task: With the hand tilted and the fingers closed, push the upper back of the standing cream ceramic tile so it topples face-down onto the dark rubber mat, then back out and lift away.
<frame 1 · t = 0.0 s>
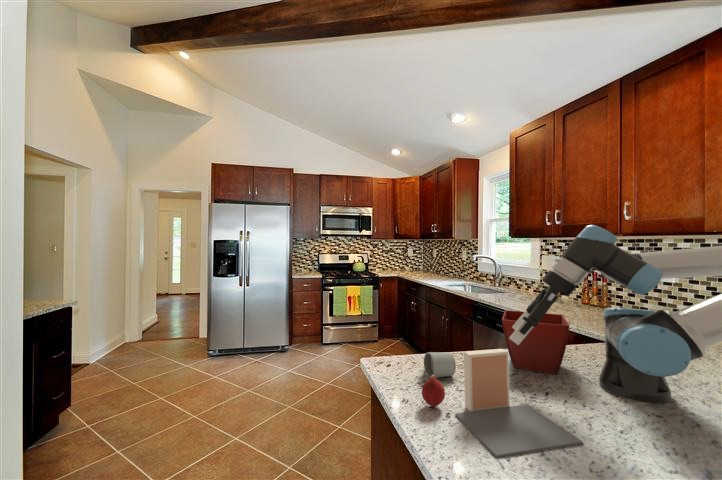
hand: (514, 335, 90), 15 cm above the countertop, tool tilted 35°, fingers open, 13 cm apart
ceramic mug: (437, 375, 101), on the countertop
mat: (513, 428, 70), on the countertop
onion: (433, 407, 80), on the countertop
plant pot: (535, 366, 108), on the countertop
tile: (487, 407, 80), on the countertop
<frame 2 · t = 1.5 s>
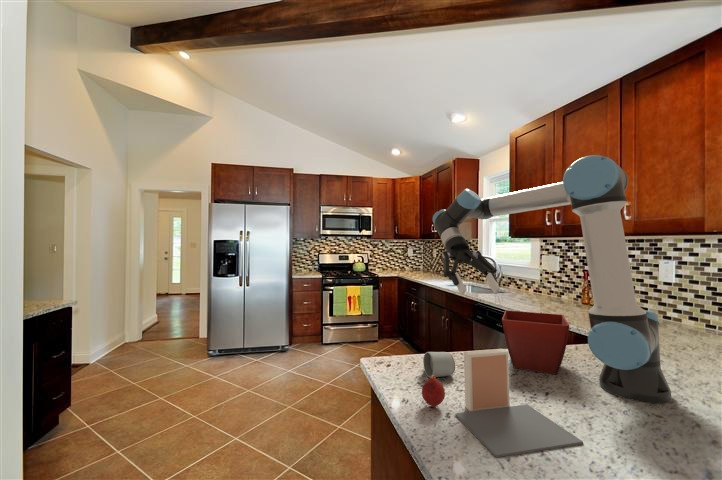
hand: (480, 292, 96), 27 cm above the countertop, tool tilted 45°, fingers open, 11 cm apart
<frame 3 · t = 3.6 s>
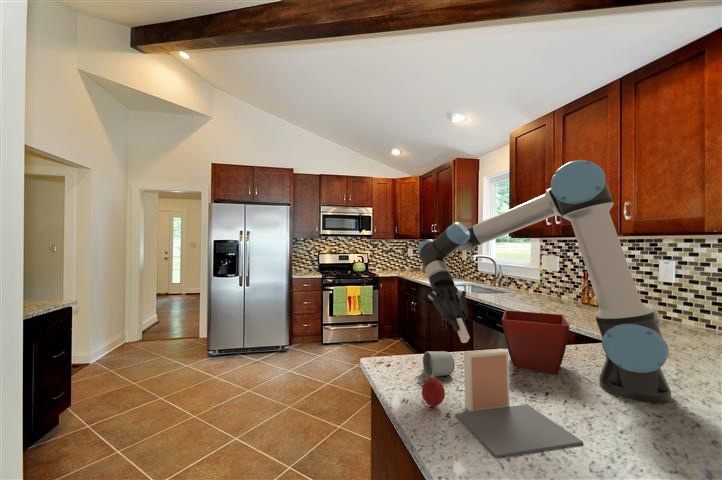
hand: (465, 340, 89), 14 cm above the countertop, tool tilted 45°, fingers closed
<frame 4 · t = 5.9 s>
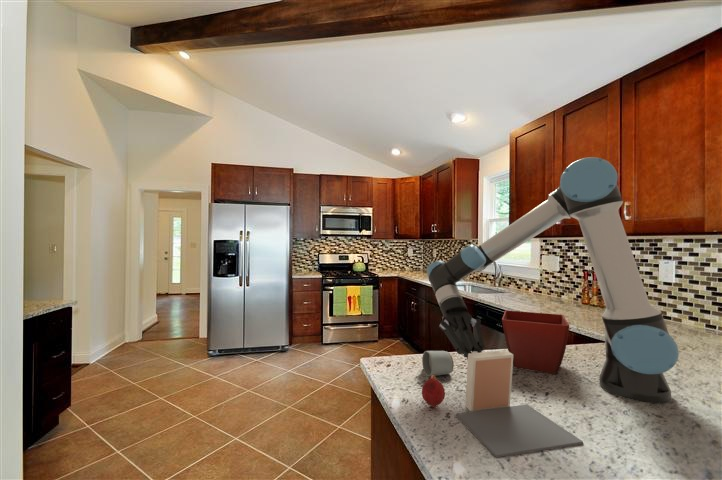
hand: (482, 377, 81), 7 cm above the countertop, tool tilted 45°, fingers closed
tile: (487, 406, 80), on the countertop, tilted 8°
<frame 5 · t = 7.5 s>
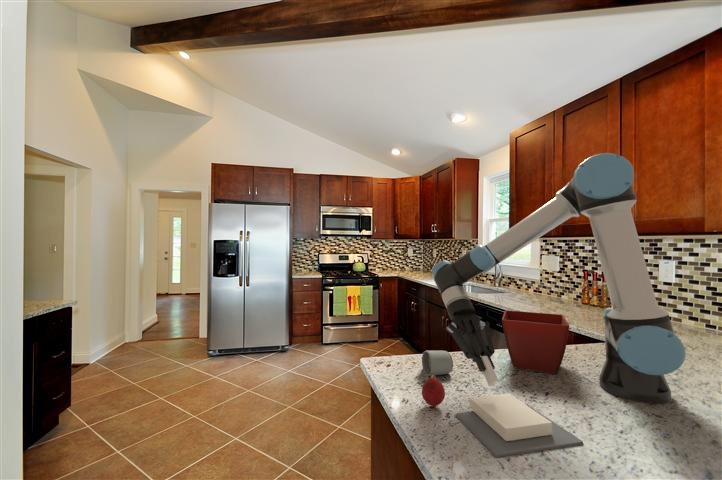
hand: (493, 383, 77), 7 cm above the countertop, tool tilted 45°, fingers closed
tile: (489, 400, 79), point 2 cm above the countertop, tilted 90°, touching mat
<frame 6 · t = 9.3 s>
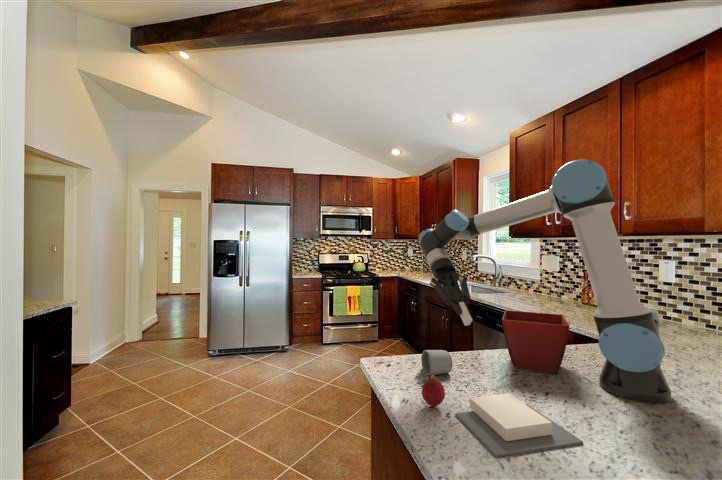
hand: (468, 322, 91), 19 cm above the countertop, tool tilted 45°, fingers closed
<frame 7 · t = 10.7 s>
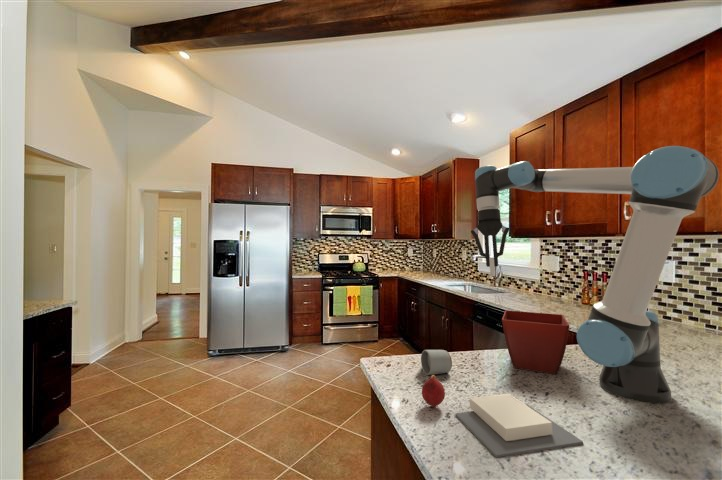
hand: (493, 276, 109), 31 cm above the countertop, tool pointing down, fingers closed
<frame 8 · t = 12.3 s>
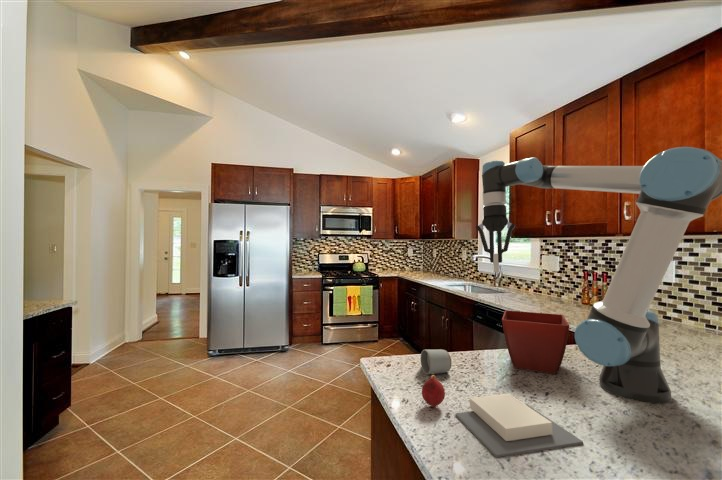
hand: (496, 272, 110), 32 cm above the countertop, tool pointing down, fingers closed
at the end: tile tilted 90°; tile touching mat; tile inside the target area (0.3 cm from its centre), point 2.0 cm above the countertop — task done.
